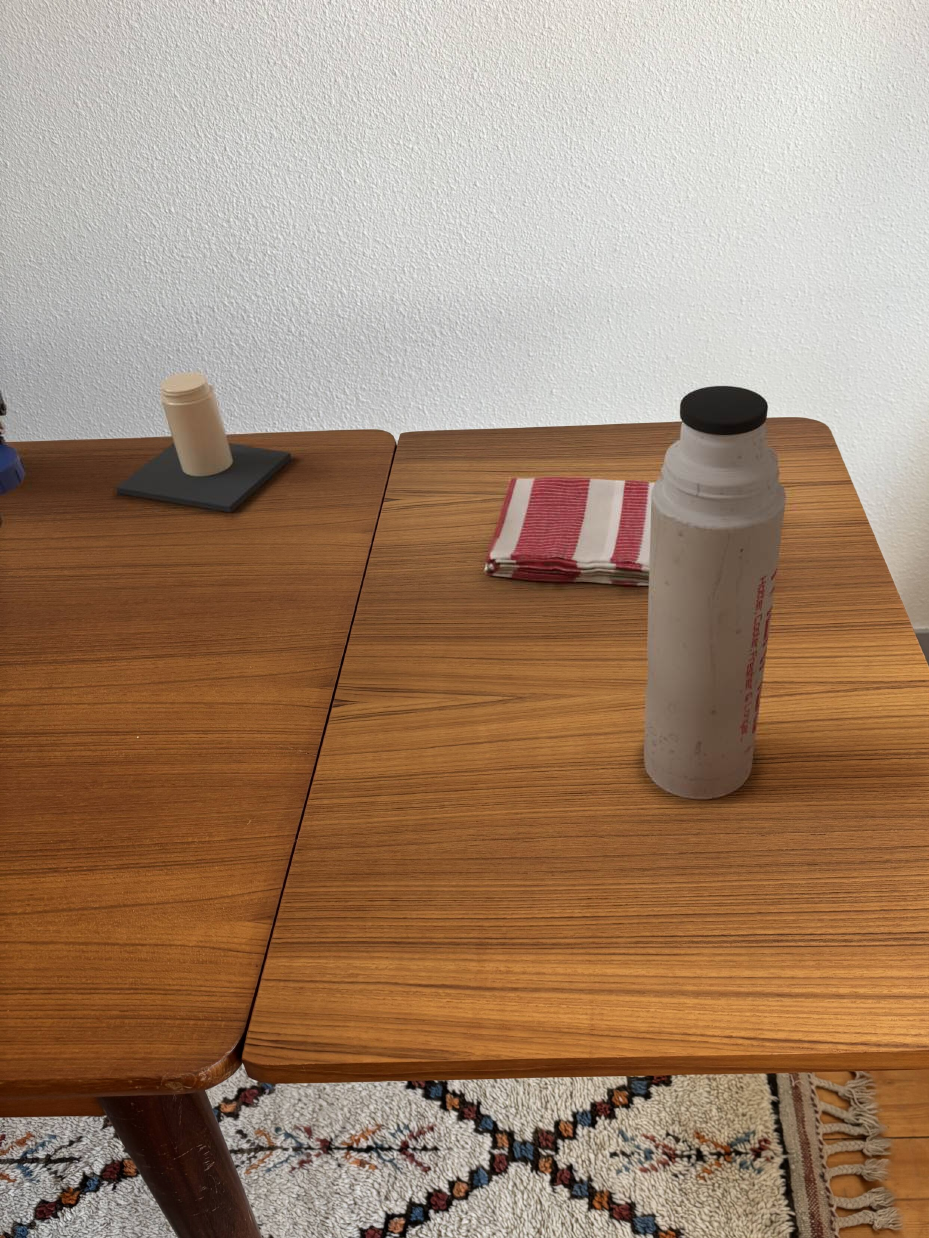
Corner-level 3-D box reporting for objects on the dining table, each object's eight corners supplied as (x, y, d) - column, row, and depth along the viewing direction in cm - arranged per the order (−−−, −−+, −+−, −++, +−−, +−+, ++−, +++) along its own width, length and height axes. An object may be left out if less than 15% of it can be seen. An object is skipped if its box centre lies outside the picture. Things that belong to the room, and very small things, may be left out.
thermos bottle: (768, 746, 79) (818, 386, 59) (726, 814, 74) (766, 445, 54) (671, 713, 82) (690, 361, 62) (625, 777, 77) (629, 415, 58)
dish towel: (740, 592, 93) (743, 567, 91) (482, 580, 96) (480, 556, 94) (741, 497, 105) (743, 472, 104) (512, 488, 108) (510, 465, 106)
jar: (172, 474, 111) (146, 391, 105) (196, 450, 115) (172, 369, 109) (218, 478, 110) (195, 394, 104) (241, 454, 114) (220, 372, 108)
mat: (117, 493, 110) (115, 487, 110) (184, 442, 118) (182, 435, 118) (231, 513, 106) (229, 506, 106) (292, 459, 115) (290, 452, 114)
